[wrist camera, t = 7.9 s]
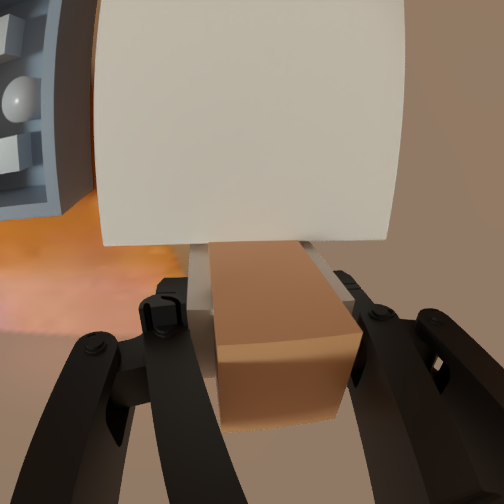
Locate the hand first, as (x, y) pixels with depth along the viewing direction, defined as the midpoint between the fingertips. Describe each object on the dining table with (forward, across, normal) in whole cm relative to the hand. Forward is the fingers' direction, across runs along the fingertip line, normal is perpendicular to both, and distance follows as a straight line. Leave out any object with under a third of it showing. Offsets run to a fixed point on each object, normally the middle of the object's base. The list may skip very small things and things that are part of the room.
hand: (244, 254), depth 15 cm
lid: (0, 0, +9) cm, 9 cm away
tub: (+8, -15, +10) cm, 20 cm away
